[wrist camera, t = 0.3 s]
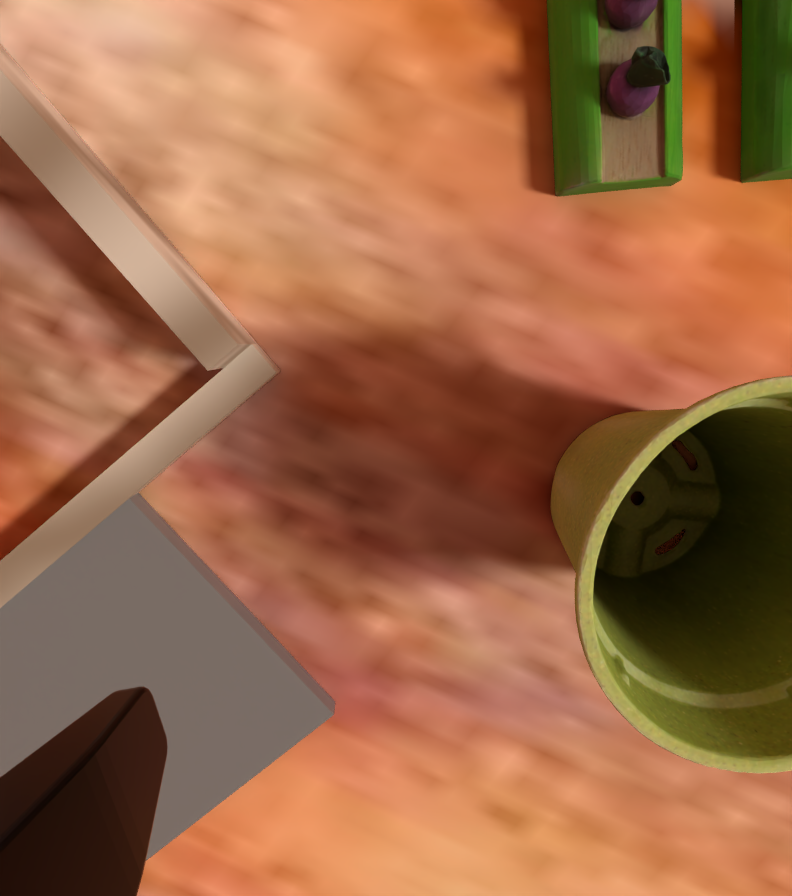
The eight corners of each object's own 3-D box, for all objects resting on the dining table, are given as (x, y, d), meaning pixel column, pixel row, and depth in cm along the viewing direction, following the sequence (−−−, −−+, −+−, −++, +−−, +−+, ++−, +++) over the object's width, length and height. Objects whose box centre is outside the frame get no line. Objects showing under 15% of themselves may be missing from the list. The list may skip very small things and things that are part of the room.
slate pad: (335, 701, 23) (333, 714, 22) (124, 866, 24) (116, 884, 23) (132, 486, 22) (123, 492, 21) (-85, 672, 23) (-102, 684, 22)
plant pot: (448, 485, 22) (493, 578, 13) (652, 305, 21) (839, 282, 13) (609, 660, 23) (742, 845, 15) (807, 499, 22) (1070, 596, 14)
